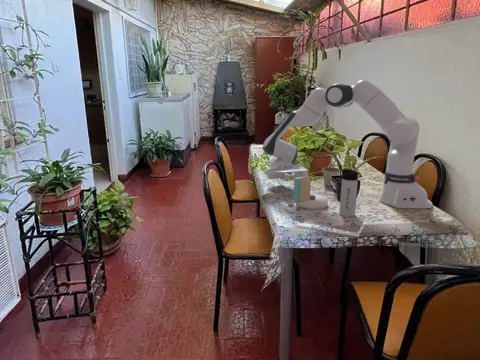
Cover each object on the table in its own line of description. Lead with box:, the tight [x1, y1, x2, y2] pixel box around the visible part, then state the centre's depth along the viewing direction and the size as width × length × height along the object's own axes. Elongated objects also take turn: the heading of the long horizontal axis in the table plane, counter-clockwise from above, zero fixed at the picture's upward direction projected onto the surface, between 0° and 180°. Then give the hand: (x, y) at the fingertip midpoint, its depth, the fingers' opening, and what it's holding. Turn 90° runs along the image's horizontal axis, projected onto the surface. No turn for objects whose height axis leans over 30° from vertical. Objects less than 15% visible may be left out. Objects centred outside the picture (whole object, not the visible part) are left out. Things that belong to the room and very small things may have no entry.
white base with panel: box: [293, 174, 329, 210], centre depth 164 cm, size 17×14×14 cm
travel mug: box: [338, 168, 359, 217], centre depth 152 cm, size 6×7×20 cm
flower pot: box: [321, 166, 340, 187], centre depth 199 cm, size 9×9×9 cm
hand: (291, 177), depth 175 cm, fingers closed
